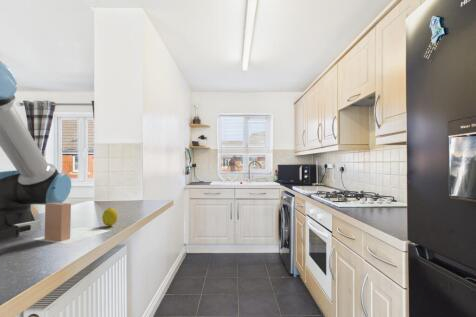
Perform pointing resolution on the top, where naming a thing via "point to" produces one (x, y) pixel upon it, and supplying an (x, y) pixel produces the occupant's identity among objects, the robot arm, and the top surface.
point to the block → (57, 221)
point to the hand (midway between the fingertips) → (39, 224)
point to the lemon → (109, 217)
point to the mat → (76, 235)
